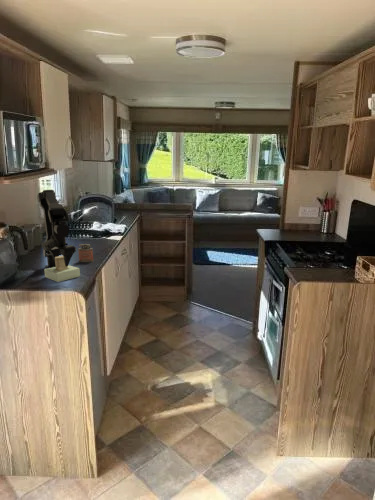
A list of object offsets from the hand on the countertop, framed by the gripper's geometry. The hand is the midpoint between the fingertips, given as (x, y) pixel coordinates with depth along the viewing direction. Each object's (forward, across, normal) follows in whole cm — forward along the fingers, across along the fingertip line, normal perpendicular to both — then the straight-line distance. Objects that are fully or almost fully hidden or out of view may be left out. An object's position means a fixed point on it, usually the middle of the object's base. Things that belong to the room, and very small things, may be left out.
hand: (61, 264), depth 186 cm
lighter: (+6, -17, +25) cm, 31 cm away
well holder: (+6, 0, 0) cm, 6 cm away
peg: (+6, 0, 0) cm, 6 cm away
